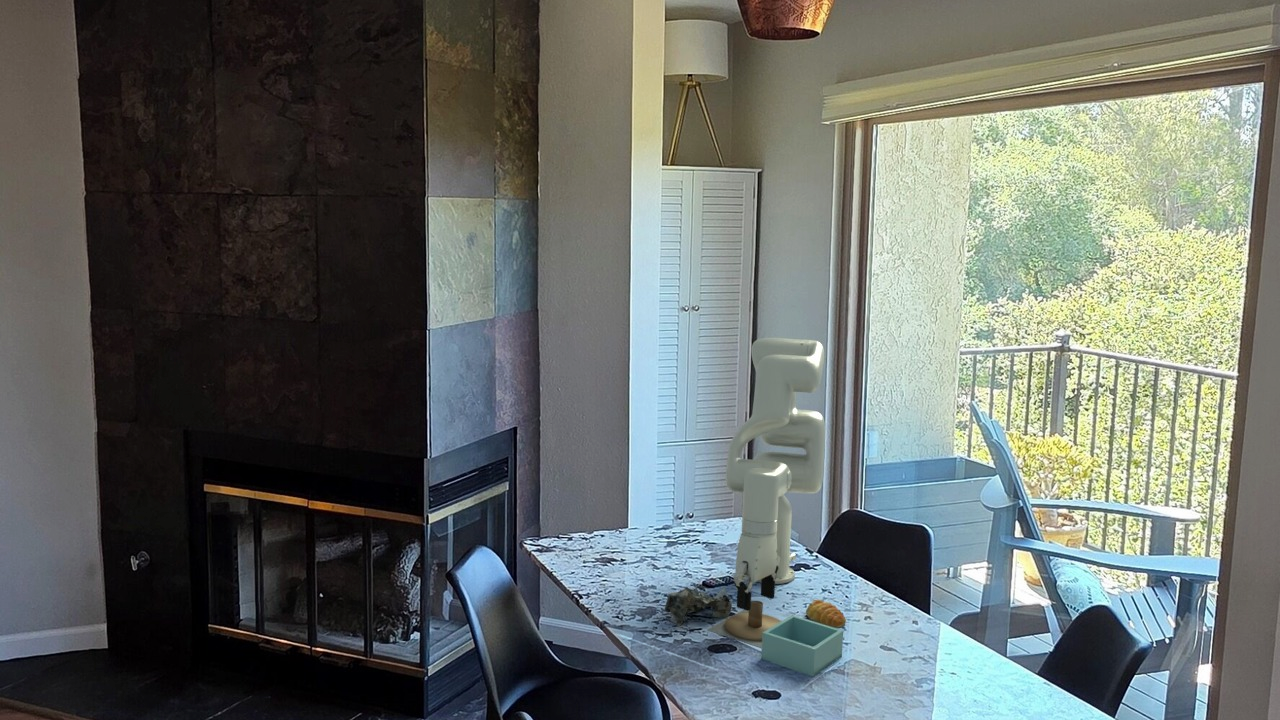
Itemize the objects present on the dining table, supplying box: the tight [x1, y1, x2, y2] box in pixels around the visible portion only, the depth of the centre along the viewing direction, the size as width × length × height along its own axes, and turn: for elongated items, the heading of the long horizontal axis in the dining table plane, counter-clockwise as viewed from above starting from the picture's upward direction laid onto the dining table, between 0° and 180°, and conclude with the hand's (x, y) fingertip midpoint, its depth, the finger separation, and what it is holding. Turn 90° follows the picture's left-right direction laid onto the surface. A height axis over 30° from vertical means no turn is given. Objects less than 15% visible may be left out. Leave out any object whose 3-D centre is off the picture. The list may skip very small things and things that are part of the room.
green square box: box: [760, 614, 844, 677], centre depth 211 cm, size 12×12×6 cm
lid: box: [725, 600, 782, 641], centre depth 224 cm, size 13×13×6 cm
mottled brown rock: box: [664, 586, 733, 627], centre depth 231 cm, size 12×11×15 cm
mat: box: [706, 609, 762, 649], centre depth 225 cm, size 15×15×1 cm
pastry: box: [805, 599, 847, 629], centre depth 231 cm, size 9×7×4 cm
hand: (755, 602), depth 223 cm, fingers open, 9 cm apart
